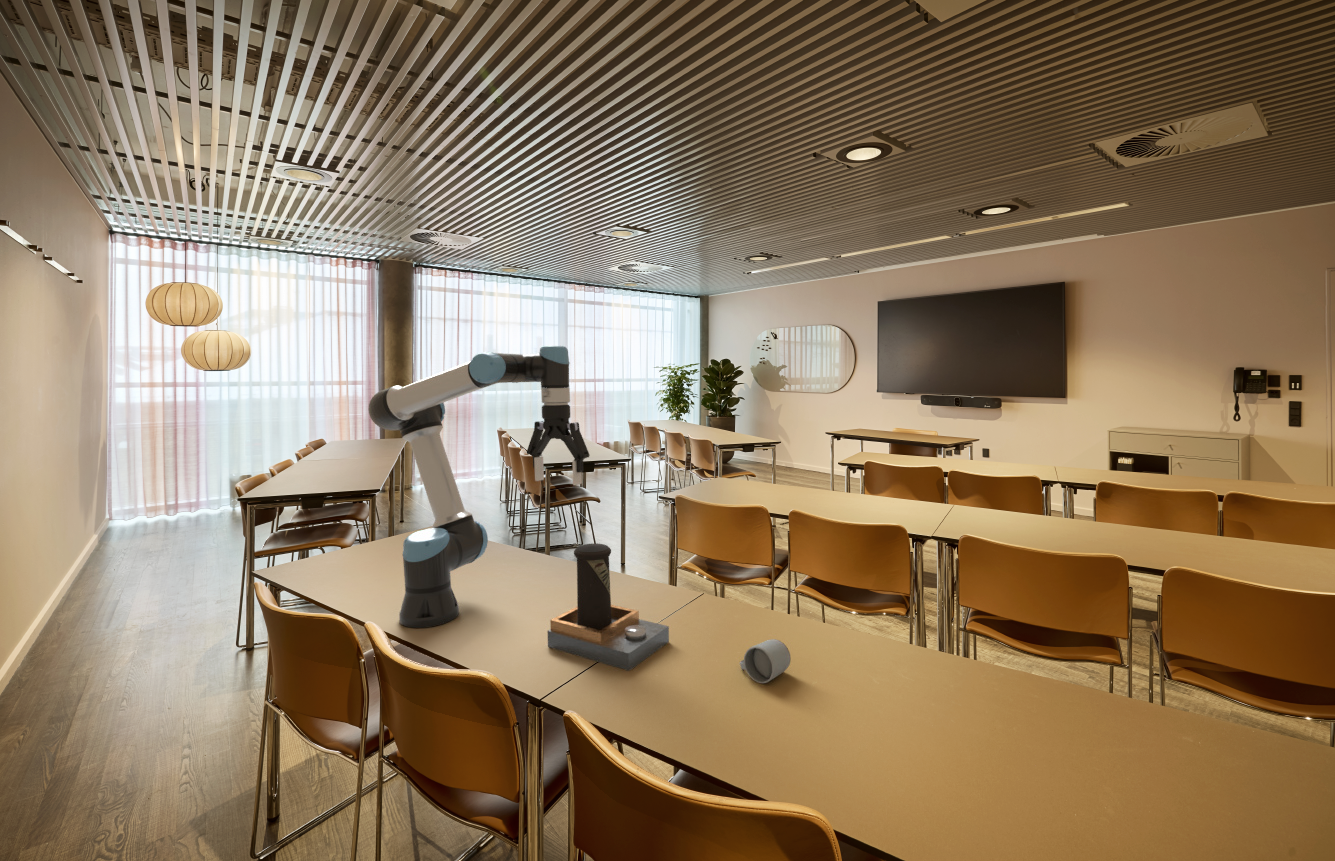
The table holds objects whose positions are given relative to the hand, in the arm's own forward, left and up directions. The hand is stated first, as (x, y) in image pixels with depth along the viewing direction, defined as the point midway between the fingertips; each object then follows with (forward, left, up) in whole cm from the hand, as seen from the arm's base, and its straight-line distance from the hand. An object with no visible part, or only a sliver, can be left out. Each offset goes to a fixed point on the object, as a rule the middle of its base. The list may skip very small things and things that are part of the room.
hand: (558, 482), depth 165 cm
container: (+19, -9, -33) cm, 39 cm away
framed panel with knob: (+23, -9, -37) cm, 44 cm away
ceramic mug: (+61, -4, -37) cm, 72 cm away
